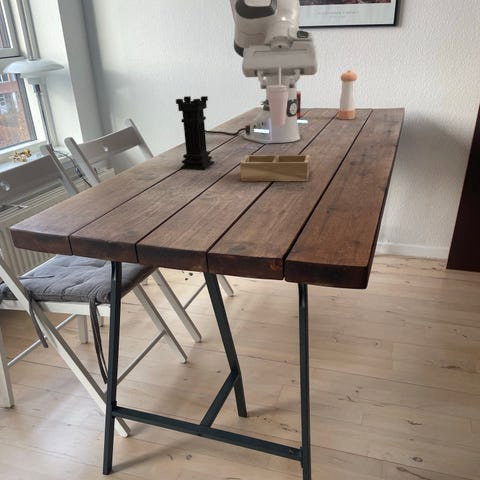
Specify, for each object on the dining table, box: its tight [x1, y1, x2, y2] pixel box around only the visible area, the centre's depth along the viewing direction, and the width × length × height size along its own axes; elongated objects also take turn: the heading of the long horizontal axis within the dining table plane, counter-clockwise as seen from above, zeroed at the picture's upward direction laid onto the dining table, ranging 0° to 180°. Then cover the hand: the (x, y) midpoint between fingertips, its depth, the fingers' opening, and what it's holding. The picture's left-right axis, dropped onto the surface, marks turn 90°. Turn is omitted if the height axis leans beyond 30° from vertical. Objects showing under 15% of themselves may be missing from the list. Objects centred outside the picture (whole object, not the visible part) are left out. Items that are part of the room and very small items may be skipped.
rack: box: [239, 154, 311, 182], centre depth 142 cm, size 10×19×5 cm, turn 80°
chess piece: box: [175, 95, 215, 171], centre depth 153 cm, size 8×8×20 cm
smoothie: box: [265, 67, 290, 125], centre depth 134 cm, size 6×6×14 cm
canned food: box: [297, 90, 302, 119], centre depth 228 cm, size 8×8×11 cm
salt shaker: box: [337, 69, 358, 120], centre depth 219 cm, size 7×7×19 cm
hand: (277, 87), depth 133 cm, fingers closed on smoothie, 6 cm apart
